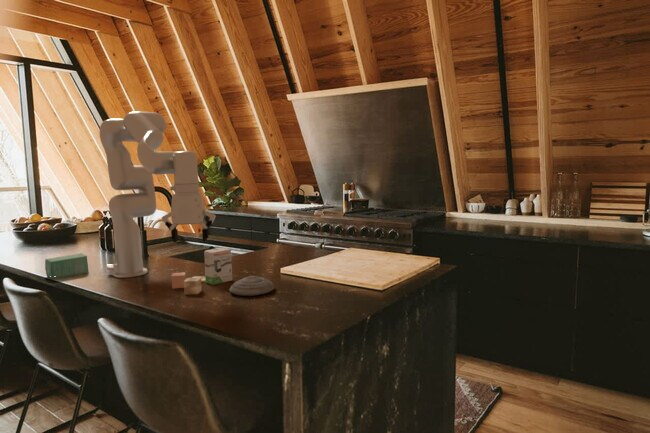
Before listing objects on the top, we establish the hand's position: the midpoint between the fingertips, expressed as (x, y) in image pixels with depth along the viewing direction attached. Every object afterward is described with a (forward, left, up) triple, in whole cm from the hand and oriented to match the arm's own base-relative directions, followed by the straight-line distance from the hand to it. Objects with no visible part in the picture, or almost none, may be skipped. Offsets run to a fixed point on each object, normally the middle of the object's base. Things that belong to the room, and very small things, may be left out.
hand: (190, 241), depth 155 cm
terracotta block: (-7, +8, -18) cm, 21 cm away
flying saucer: (+20, -1, -18) cm, 27 cm away
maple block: (0, 0, -18) cm, 18 cm away
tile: (-2, +16, -17) cm, 24 cm away
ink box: (+6, +13, -18) cm, 23 cm away
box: (-58, +30, -18) cm, 67 cm away
